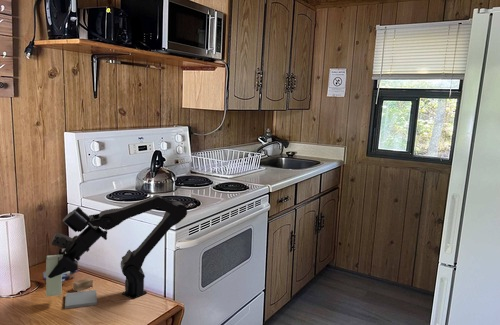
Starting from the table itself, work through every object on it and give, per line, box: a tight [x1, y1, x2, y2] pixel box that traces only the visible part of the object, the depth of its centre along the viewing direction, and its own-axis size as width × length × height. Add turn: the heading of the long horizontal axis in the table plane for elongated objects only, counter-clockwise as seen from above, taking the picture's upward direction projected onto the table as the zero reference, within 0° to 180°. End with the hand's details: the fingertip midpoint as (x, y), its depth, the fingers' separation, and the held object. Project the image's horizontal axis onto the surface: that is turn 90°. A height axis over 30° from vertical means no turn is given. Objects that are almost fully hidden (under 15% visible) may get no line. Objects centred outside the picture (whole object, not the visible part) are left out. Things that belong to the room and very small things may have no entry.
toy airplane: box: [42, 269, 84, 283], centre depth 152 cm, size 13×14×4 cm
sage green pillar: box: [45, 254, 63, 298], centre depth 133 cm, size 4×4×12 cm
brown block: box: [72, 277, 94, 292], centre depth 147 cm, size 6×3×3 cm, turn 142°
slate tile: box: [64, 289, 98, 310], centre depth 137 cm, size 10×10×1 cm
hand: (49, 274), depth 132 cm, fingers closed on sage green pillar, 4 cm apart
